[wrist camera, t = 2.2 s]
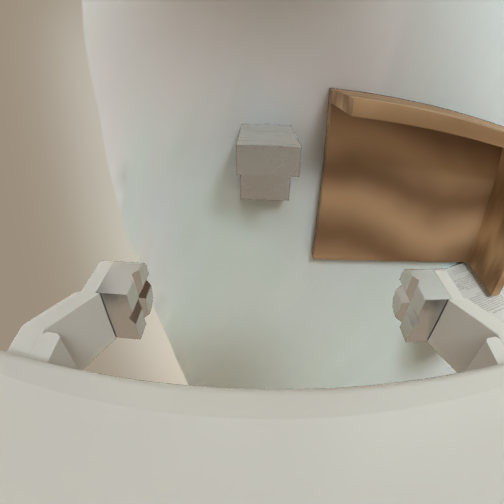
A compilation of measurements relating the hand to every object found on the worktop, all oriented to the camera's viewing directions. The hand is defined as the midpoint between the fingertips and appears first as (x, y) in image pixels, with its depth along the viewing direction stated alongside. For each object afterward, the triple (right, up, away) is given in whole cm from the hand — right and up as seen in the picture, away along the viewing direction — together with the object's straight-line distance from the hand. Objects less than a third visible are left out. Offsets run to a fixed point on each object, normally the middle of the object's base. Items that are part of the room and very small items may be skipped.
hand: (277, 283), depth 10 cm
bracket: (0, +9, +17) cm, 19 cm away
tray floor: (+15, +7, +17) cm, 24 cm away
